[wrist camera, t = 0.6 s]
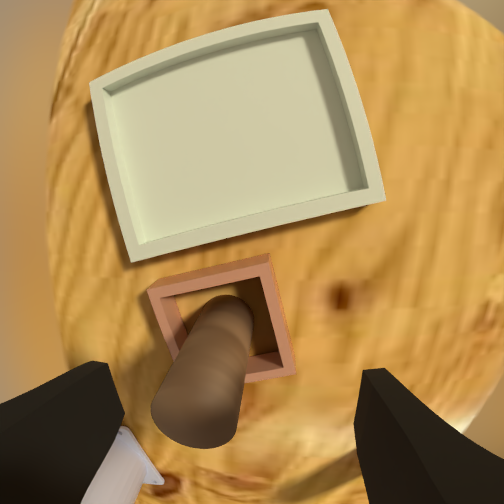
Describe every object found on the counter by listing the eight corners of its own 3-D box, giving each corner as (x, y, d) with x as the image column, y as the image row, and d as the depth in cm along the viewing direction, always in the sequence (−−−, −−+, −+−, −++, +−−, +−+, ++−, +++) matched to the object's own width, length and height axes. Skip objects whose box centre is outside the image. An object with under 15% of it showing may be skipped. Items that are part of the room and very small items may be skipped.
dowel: (210, 346, 19) (170, 449, 11) (194, 300, 19) (137, 390, 10) (260, 337, 19) (247, 445, 10) (246, 289, 18) (221, 382, 10)
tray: (142, 255, 18) (131, 262, 17) (102, 88, 16) (89, 82, 15) (376, 198, 17) (386, 200, 15) (324, 21, 14) (327, 9, 13)
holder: (193, 372, 20) (186, 390, 18) (158, 278, 19) (146, 289, 17) (294, 356, 19) (296, 373, 17) (269, 253, 18) (268, 262, 16)
